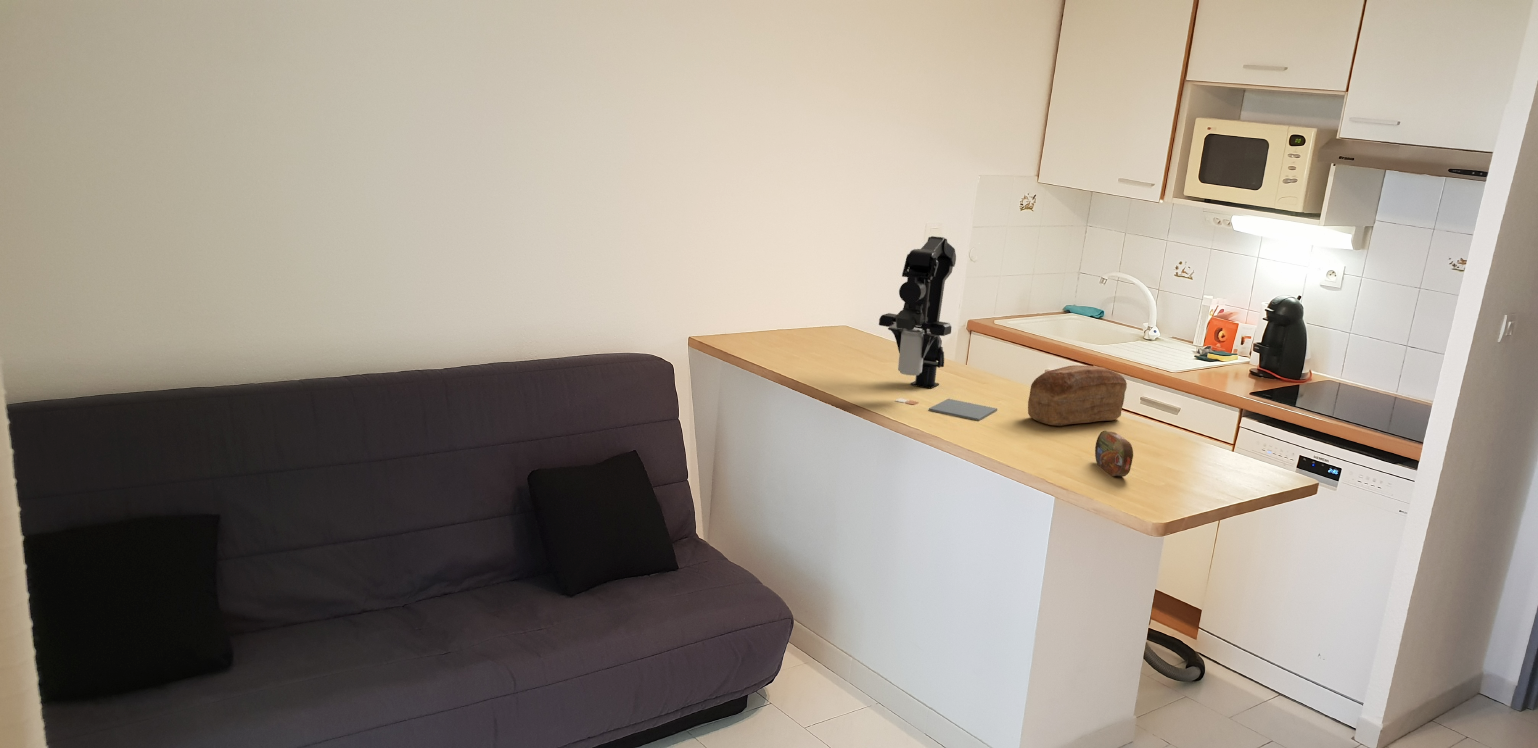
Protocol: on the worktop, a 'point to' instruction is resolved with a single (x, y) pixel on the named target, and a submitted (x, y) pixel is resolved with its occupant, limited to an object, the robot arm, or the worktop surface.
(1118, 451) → the tin
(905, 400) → the two-tone square tiles
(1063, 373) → the bread
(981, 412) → the slate mat
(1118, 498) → the worktop surface
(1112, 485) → the worktop surface
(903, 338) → the beverage can
